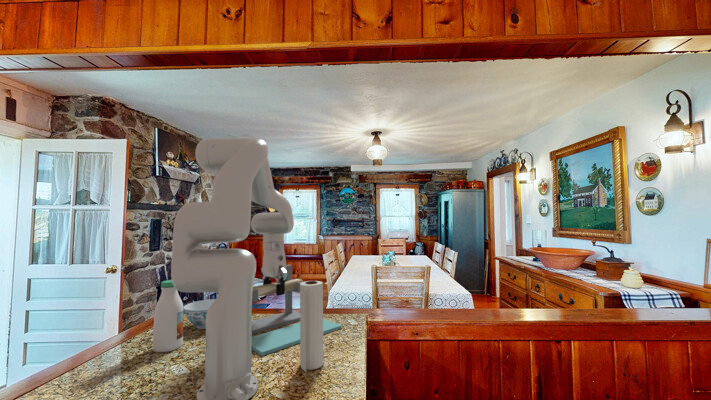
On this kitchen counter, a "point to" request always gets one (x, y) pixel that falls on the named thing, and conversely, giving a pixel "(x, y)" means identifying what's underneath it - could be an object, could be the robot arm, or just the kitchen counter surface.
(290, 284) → the rail
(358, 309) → the kitchen counter surface
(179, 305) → the milk bottle
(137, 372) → the kitchen counter surface
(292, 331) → the mat
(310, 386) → the kitchen counter surface
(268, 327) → the rack
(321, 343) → the paper towel roll
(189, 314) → the chinaware
